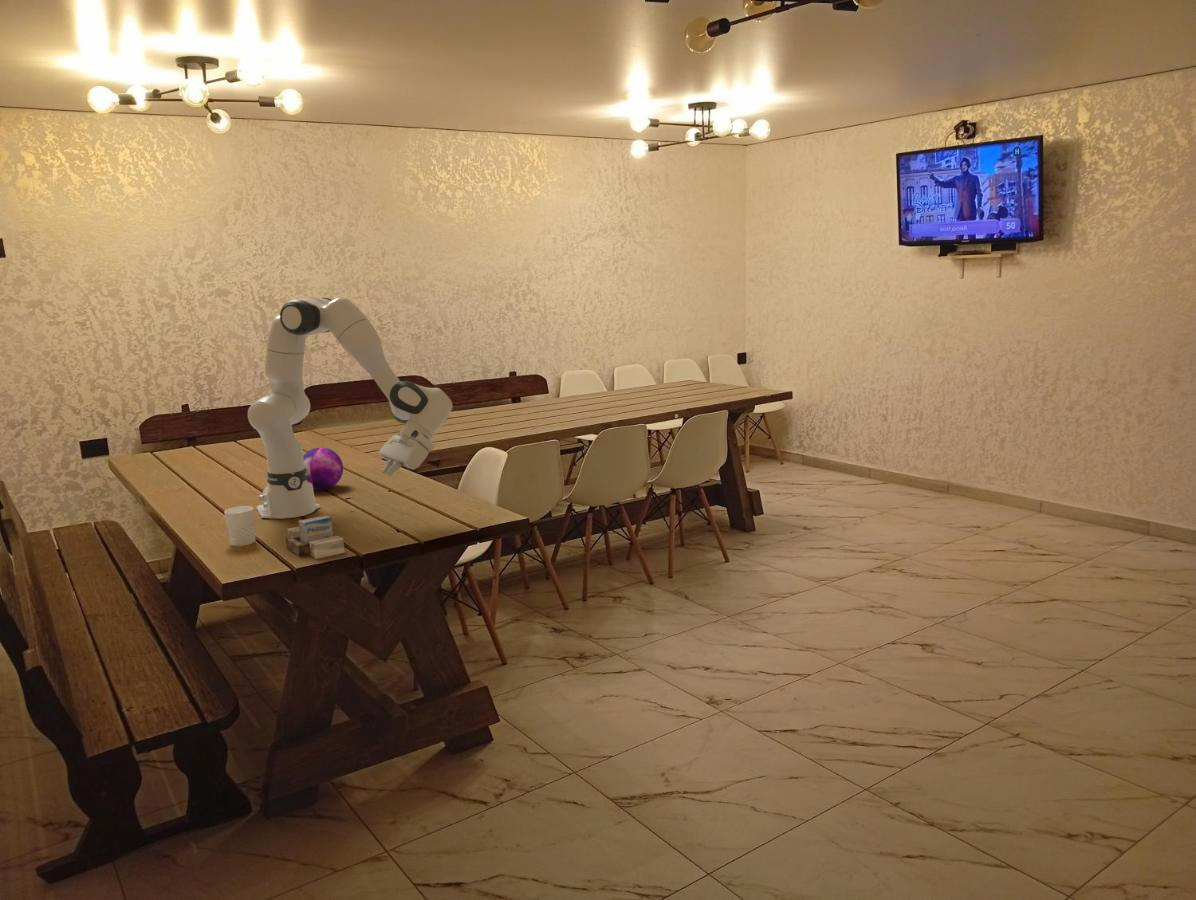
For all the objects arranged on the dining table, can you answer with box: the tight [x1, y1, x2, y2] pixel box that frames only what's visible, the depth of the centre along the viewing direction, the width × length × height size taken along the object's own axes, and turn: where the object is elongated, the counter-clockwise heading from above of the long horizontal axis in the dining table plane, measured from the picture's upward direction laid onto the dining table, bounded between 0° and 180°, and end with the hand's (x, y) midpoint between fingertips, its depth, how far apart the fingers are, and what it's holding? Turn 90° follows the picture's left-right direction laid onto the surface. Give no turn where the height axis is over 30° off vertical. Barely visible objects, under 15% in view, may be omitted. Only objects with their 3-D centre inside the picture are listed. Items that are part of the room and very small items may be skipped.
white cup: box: [224, 505, 256, 547], centre depth 259 cm, size 8×8×10 cm
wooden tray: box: [285, 526, 345, 560], centre depth 252 cm, size 21×12×4 cm, turn 38°
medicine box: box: [297, 514, 334, 544], centre depth 251 cm, size 8×4×9 cm, turn 128°
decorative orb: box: [303, 447, 344, 491], centre depth 320 cm, size 15×15×15 cm
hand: (386, 474), depth 263 cm, fingers closed
